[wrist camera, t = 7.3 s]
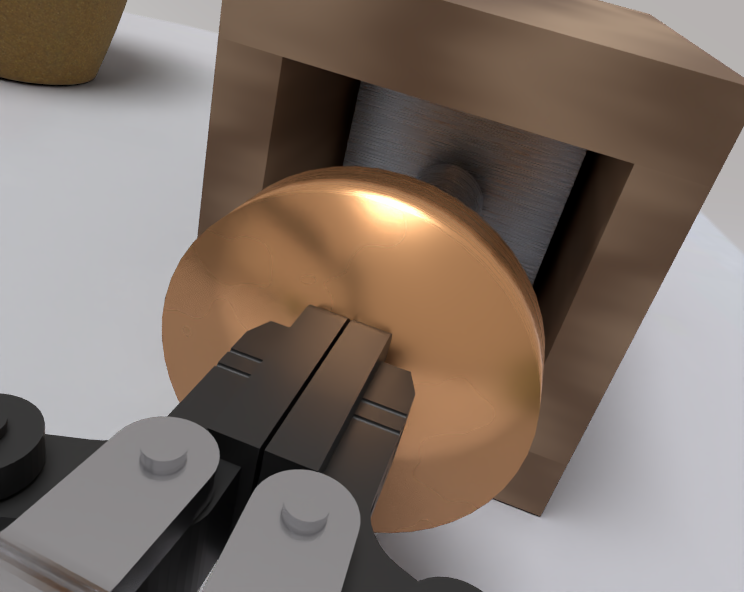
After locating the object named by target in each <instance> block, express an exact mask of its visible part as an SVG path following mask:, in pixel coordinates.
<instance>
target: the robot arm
mask: <svg viewBox="0 0 744 592" xmlns="http://www.w3.org/2000/svg"><path fill="white" fill-rule="evenodd" d="M391 339H392V334H391V333H389V332H386V331H383V330H380V329H378V328H375V327H372V326H369V325H367V324H364V323H361V322H358V321H355V320H351V321H350V319H349V318H347V317H344V316H341V315H338V314H336V313H333V312H330V311H327V310H325V309H322V308H319V307H316V306H313V305H308V306H307V307H306V308H305V310H304V311H303V312H302V313H301V314H300V316H299V317H298V318H297V319H296V321H295V322H294V323H293V324H292V325H291V327H287V326H284V325H281V324H279V323H276V322H273V321H270V322H267V323H265V324H262V325H260V326H258V327H255V328H253V329H251V330H248V331H246V332H245V334H244V335H243V336H242V337H241V338H240V339H239V340H238V341H237V342H236V343H235V344H234V345H233V346H232V347H231V350H230V352H227V353H226V354H225V355H224V356H223V357H222V358H221V359H220V360H219V361H218V364H217V366H214V367H213V368H212V369H211V370H210V371H209V372H208V373H207V374H206V375H205V376H204V378H203V379H202V380H201V381H200V382H199V383H198V384H197V385H196V386H195V387H194V388H193V389H192V390H191V392H190V393H189V394H188V395H187V396H186V397H185V398H184V399H183V400H182V401H181V402H180V403H179V404H178V405H177V407H176V408H175V409H174V410H173V411H172V412H171V413H170V414H169V415H168V416H167V417H152V418H147V419H143V420H140V421H137V422H134V423H132V424H130V425H128V426H126V427H124V428H123V429H122V430H120V431H119V432H118V433H116V434H115V435H114V436H113V437H112V438H111V439H109V440H103V441H102V440H89V439H81V438H73V437H64V436H56V435H48V434H45V422H44V418H43V415H42V414H41V412H40V410H39V409H38V408H37V407H36V406H35V405H33V404H32V403H30V402H29V401H27V400H25V399H23V398H20V397H17V396H13V395H8V394H0V592H199V590H200V587H201V585H202V584H203V582H204V581H205V579H206V577H207V576H208V574H209V572H210V571H211V569H212V568H213V566H214V564H215V563H216V561H217V560H218V561H217V563H216V565H215V567H214V569H213V571H212V573H211V575H210V577H209V579H208V581H207V583H206V585H205V587H204V589H203V590H202V592H482V591H481V590H479V589H478V588H476V587H474V586H473V585H471V584H469V583H466V582H464V581H461V580H458V579H454V578H449V577H432V578H427V579H424V580H420V581H417V580H415V579H414V578H413V577H412V576H410V575H409V574H408V573H407V572H405V571H404V570H403V569H402V568H400V567H399V566H398V565H397V564H396V563H395V562H393V561H392V560H391V559H390V558H389V557H388V555H387V554H386V553H385V552H384V551H383V549H382V548H381V546H380V545H379V543H378V541H377V539H376V537H375V535H374V532H373V529H372V525H371V516H372V514H373V511H374V509H375V506H376V503H377V501H378V498H379V496H380V493H381V491H382V488H383V485H384V483H385V480H386V478H387V475H388V473H389V470H390V467H391V465H392V462H393V460H394V457H395V454H396V451H397V448H398V445H399V442H400V439H401V436H402V433H403V430H404V427H405V424H406V421H407V418H408V415H409V412H410V409H411V406H412V403H413V400H414V397H415V394H416V393H415V389H414V384H413V380H412V375H411V372H410V371H407V370H404V369H402V368H399V367H396V366H393V365H391V364H388V363H385V360H386V357H387V353H388V350H389V347H390V343H391Z"/></svg>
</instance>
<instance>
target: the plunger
mask: <svg viewBox="0 0 744 592" xmlns="http://www.w3.org/2000/svg"><path fill="white" fill-rule="evenodd" d="M586 151H587V149H584V148H581V147H577V146H574V145H571V144H568V143H564V142H561V141H558V140H554V139H551V138H548V137H545V136H541V135H538V134H535V133H532V132H528V131H525V130H522V129H518V128H515V127H512V126H509V125H505V124H502V123H499V122H495V121H492V120H489V119H486V118H482V117H479V116H476V115H472V114H469V113H466V112H463V111H459V110H456V109H453V108H449V107H446V106H443V105H440V104H436V103H433V102H430V101H426V100H423V99H420V98H417V97H413V96H410V95H407V94H403V93H400V92H397V91H394V90H390V89H387V88H384V87H381V86H377V85H374V84H371V83H367V82H364V81H361V84H360V89H359V93H358V98H357V103H356V107H355V112H354V117H353V121H352V126H351V130H350V135H349V140H348V144H347V149H346V154H345V158H344V163H343V166H332V167H326V168H319V169H313V170H308V171H305V172H301V173H298V174H295V175H292V176H289V177H286V178H284V179H282V180H280V181H278V182H276V183H274V184H272V185H270V186H268V187H266V188H265V189H263V190H262V191H260V192H259V193H258V194H256V195H255V196H253V197H252V198H250V199H249V200H247V201H246V202H245V203H243V204H242V205H240V206H239V207H237V208H236V209H234V210H233V211H232V212H230V213H229V214H227V215H226V216H224V217H223V218H221V219H220V220H219V221H217V222H216V223H214V224H213V225H211V226H210V227H209V228H208V229H207V230H206V231H205V232H203V233H202V234H201V235H200V236H199V237H198V238H197V239H196V240H195V241H194V242H193V244H192V245H191V246H190V248H189V249H188V250H187V252H186V253H185V254H184V256H183V257H182V258H181V260H180V262H179V264H178V266H177V268H176V270H175V272H174V274H173V276H172V278H171V281H170V284H169V287H168V291H167V294H166V297H165V303H164V309H163V316H162V342H163V350H164V357H165V362H166V366H167V370H168V373H169V377H170V380H171V383H172V386H173V388H174V391H175V393H176V396H177V398H178V400H179V402H181V401H182V400H183V399H184V398H185V397H186V396H187V395H188V394H189V393H190V392H191V390H192V389H193V388H194V387H195V386H196V385H197V384H198V383H199V382H200V381H201V380H202V379H203V378H204V376H205V375H206V374H207V373H208V372H209V371H210V370H211V369H212V368H213V367H214V366H217V364H218V361H219V360H220V359H221V358H222V357H223V356H224V355H225V354H226V353H227V352H230V350H231V347H232V346H233V345H234V344H235V343H236V342H237V341H238V340H239V339H240V338H241V337H242V336H243V335H244V334H245V332H246V331H248V330H251V329H253V328H255V327H258V326H260V325H262V324H265V323H267V322H270V321H273V322H276V323H279V324H281V325H284V326H287V327H291V325H292V324H293V323H294V322H295V321H296V319H297V318H298V317H299V316H300V314H301V313H302V312H303V311H304V310H305V308H306V307H307V306H308V305H313V306H316V307H319V308H322V309H325V310H327V311H330V312H333V313H336V314H338V315H341V316H344V317H347V318H349V319H350V321H351V320H355V321H358V322H361V323H364V324H367V325H369V326H372V327H375V328H378V329H380V330H383V331H386V332H389V333H391V334H392V339H391V343H390V347H389V350H388V353H387V357H386V360H385V363H388V364H391V365H393V366H396V367H399V368H402V369H404V370H407V371H410V372H411V375H412V380H413V384H414V389H415V393H416V394H415V397H414V400H413V403H412V406H411V409H410V412H409V415H408V418H407V421H406V424H405V427H404V430H403V433H402V436H401V439H400V442H399V445H398V448H397V451H396V454H395V457H394V460H393V462H392V465H391V467H390V470H389V473H388V475H387V478H386V480H385V483H384V485H383V488H382V491H381V493H380V496H379V498H378V501H377V503H376V506H375V509H374V511H373V514H372V516H371V525H372V529H373V532H378V533H398V532H412V531H418V530H424V529H430V528H434V527H437V526H440V525H444V524H447V523H450V522H453V521H455V520H457V519H460V518H462V517H464V516H466V515H468V514H471V513H472V512H474V511H475V510H477V509H478V508H480V507H482V506H483V505H485V504H486V503H488V502H489V501H490V500H491V499H493V498H494V497H495V496H496V495H497V494H498V493H499V492H501V491H502V490H503V489H504V488H505V487H506V485H507V484H508V483H509V482H510V481H511V479H512V478H513V477H514V476H515V474H516V473H517V472H518V470H519V468H520V467H521V465H522V463H523V462H524V460H525V458H526V456H527V455H528V452H529V450H530V447H531V444H532V442H533V439H534V436H535V433H536V428H537V423H538V417H539V412H540V402H541V392H542V381H543V371H544V358H545V336H544V328H543V320H542V315H541V312H540V308H539V305H538V301H537V297H536V294H535V292H534V290H533V288H532V284H533V282H534V279H535V277H536V274H537V272H538V270H539V267H540V265H541V262H542V260H543V257H544V255H545V252H546V250H547V247H548V245H549V242H550V240H551V238H552V235H553V233H554V230H555V228H556V225H557V223H558V220H559V218H560V215H561V213H562V210H563V208H564V206H565V203H566V201H567V198H568V196H569V193H570V191H571V188H572V186H573V183H574V181H575V178H576V176H577V174H578V171H579V169H580V166H581V164H582V161H583V159H584V156H585V154H586Z"/></svg>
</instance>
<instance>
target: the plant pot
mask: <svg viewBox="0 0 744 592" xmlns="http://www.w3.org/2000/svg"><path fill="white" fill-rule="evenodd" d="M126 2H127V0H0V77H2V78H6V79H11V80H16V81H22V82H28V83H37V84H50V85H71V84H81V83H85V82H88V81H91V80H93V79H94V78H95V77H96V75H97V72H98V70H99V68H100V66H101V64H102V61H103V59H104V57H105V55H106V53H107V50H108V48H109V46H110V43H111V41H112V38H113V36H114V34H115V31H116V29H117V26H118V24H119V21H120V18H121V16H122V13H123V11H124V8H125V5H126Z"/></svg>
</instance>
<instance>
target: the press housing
mask: <svg viewBox="0 0 744 592" xmlns="http://www.w3.org/2000/svg"><path fill="white" fill-rule="evenodd" d="M361 81H364V82H367V83H371V84H374V85H377V86H381V87H384V88H387V89H390V90H394V91H397V92H400V93H403V94H407V95H410V96H413V97H417V98H420V99H423V100H426V101H430V102H433V103H436V104H440V105H443V106H446V107H449V108H453V109H456V110H459V111H463V112H466V113H469V114H472V115H476V116H479V117H482V118H486V119H489V120H492V121H495V122H499V123H502V124H505V125H509V126H512V127H515V128H518V129H522V130H525V131H528V132H532V133H535V134H538V135H541V136H545V137H548V138H551V139H554V140H558V141H561V142H564V143H568V144H571V145H574V146H577V147H581V148H584V149H587V151H586V154H585V156H584V159H583V161H582V164H581V166H580V169H579V171H578V174H577V176H576V178H575V181H574V183H573V186H572V188H571V191H570V193H569V196H568V198H567V201H566V203H565V206H564V208H563V210H562V213H561V215H560V218H559V220H558V223H557V225H556V228H555V230H554V233H553V235H552V238H551V240H550V242H549V245H548V247H547V250H546V252H545V255H544V257H543V260H542V262H541V265H540V267H539V270H538V272H537V274H536V277H535V279H534V282H533V284H532V288H533V290H534V292H535V294H536V297H537V301H538V305H539V308H540V312H541V315H542V320H543V328H544V336H545V358H544V371H543V381H542V392H541V402H540V412H539V417H538V423H537V428H536V433H535V436H534V439H533V442H532V444H531V447H530V450H529V452H528V455H527V456H526V458H525V460H524V462H523V463H522V465H521V467H520V468H519V470H518V472H517V473H516V474H515V476H514V477H513V478H512V479H511V481H510V482H509V483H508V484H507V485H506V487H505V488H504V489H503V490H502V491H501V492H499V493H498V494H497V495H496V496H495V497H494V499H496V500H499V501H502V502H504V503H507V504H509V505H512V506H515V507H517V508H520V509H522V510H525V511H527V512H530V513H533V514H535V515H538V516H541V514H542V512H543V511H544V509H545V507H546V505H547V503H548V501H549V499H550V497H551V495H552V493H553V491H554V489H555V488H556V486H557V484H558V482H559V480H560V478H561V476H562V474H563V472H564V470H565V468H566V466H567V464H568V463H569V461H570V459H571V457H572V455H573V453H574V451H575V449H576V447H577V445H578V443H579V441H580V440H581V438H582V436H583V434H584V432H585V430H586V428H587V426H588V424H589V422H590V420H591V418H592V416H593V415H594V413H595V411H596V409H597V407H598V405H599V403H600V401H601V399H602V397H603V395H604V393H605V391H606V390H607V388H608V386H609V384H610V382H611V380H612V378H613V376H614V374H615V372H616V370H617V368H618V367H619V365H620V363H621V361H622V359H623V357H624V355H625V353H626V351H627V349H628V347H629V345H630V343H631V342H632V340H633V338H634V336H635V334H636V332H637V330H638V328H639V326H640V324H641V322H642V320H643V319H644V317H645V315H646V313H647V311H648V309H649V307H650V305H651V303H652V301H653V299H654V297H655V295H656V294H657V292H658V290H659V288H660V286H661V284H662V282H663V280H664V278H665V276H666V274H667V272H668V270H669V269H670V267H671V265H672V263H673V261H674V259H675V257H676V255H677V253H678V251H679V249H680V247H681V246H682V244H683V242H684V240H685V238H686V236H687V234H688V232H689V230H690V228H691V226H692V224H693V222H694V221H695V219H696V217H697V215H698V213H699V211H700V209H701V207H702V205H703V203H704V201H705V199H706V197H707V195H708V194H709V192H710V190H711V188H712V186H713V184H714V182H715V180H716V178H717V176H718V174H719V172H720V171H721V169H722V167H723V165H724V163H725V161H726V159H727V157H728V155H729V153H730V151H731V149H732V148H733V145H734V144H735V142H736V140H737V138H738V136H739V134H740V132H741V130H742V128H743V126H744V77H742V76H741V75H739V74H738V73H736V72H735V71H733V70H732V69H730V68H729V67H727V66H725V65H724V64H723V63H721V62H720V61H718V60H717V59H715V58H714V57H712V56H711V55H709V54H708V53H706V52H705V51H704V50H702V49H700V48H699V47H698V46H696V45H695V44H693V43H692V42H690V41H689V40H687V39H686V38H684V37H683V36H681V35H680V34H678V33H677V32H675V31H674V30H672V29H671V28H669V27H668V26H666V25H665V24H663V23H662V22H660V21H659V20H657V19H656V18H654V17H653V16H652V15H650V14H647V13H643V12H639V11H636V10H632V9H629V8H625V7H621V6H618V5H614V4H610V3H606V2H603V1H599V0H222V7H221V17H220V26H219V36H218V45H217V55H216V64H215V74H214V84H213V93H212V103H211V112H210V122H209V131H208V141H207V151H206V160H205V170H204V179H203V189H202V198H201V208H200V218H199V227H198V237H199V236H200V235H201V234H202V233H203V232H205V231H206V230H207V229H208V228H209V227H210V226H211V225H213V224H214V223H216V222H217V221H219V220H220V219H221V218H223V217H224V216H226V215H227V214H229V213H230V212H232V211H233V210H234V209H236V208H237V207H239V206H240V205H242V204H243V203H245V202H246V201H247V200H249V199H250V198H252V197H253V196H255V195H256V194H258V193H259V192H260V191H262V190H263V189H265V188H266V187H268V186H270V185H272V184H274V183H276V182H278V181H280V180H282V179H284V178H286V177H289V176H292V175H295V174H298V173H301V172H305V171H308V170H313V169H319V168H326V167H332V166H343V163H344V158H345V154H346V149H347V144H348V140H349V135H350V130H351V126H352V121H353V117H354V112H355V107H356V103H357V98H358V93H359V89H360V84H361ZM198 237H197V238H198Z"/></svg>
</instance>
